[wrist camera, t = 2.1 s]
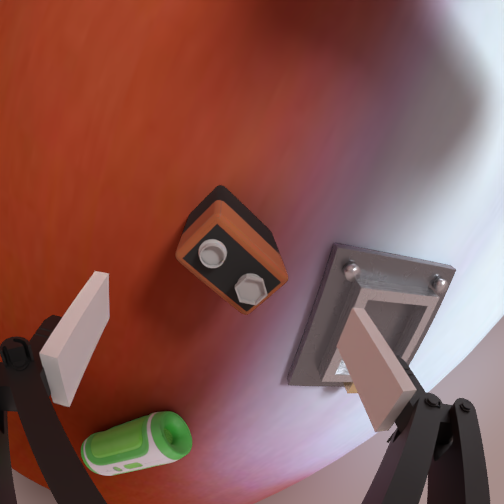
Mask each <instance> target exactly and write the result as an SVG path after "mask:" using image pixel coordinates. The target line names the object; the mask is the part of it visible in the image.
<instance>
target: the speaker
mask: <svg viewBox="0 0 504 504" xmlns="http://www.w3.org/2000/svg"><path fill="white" fill-rule="evenodd" d="M191 448H192V437H191V433H190V430H189V428H188V426H187V424H186V423H185V421H184V420H183V419H182V418H181V417H180V416H179V415H178V414H176V413H174V412H171V411H162V412H155V413H151V414H150V415H148V416H143V417H140V418H137V419H135V420H132V421H129V422H126V423H123V424H121V425H118V426H115V427H112V428H110V429H108V430H106V431H102V432H97V433H94V434H92V435H90V436H89V437H88V438H87V439H86V440H85V441H84V442H83V443H82V446H81V456H82V459H83V461H84V463H85V465H86V466H87V467H88V468H89V469H90V470H91V471H93V472H95V473H97V474H100V475H106V476H112V475H116V474H121V473H127V472H132V471H136V470H141V469H145V468H150V467H154V466H158V465H163V464H168V463H172V462H175V461H177V460H179V459H181V458H183V457H184V456H185V455H187V454H188V453H189V452H190V450H191Z"/></svg>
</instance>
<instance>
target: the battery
mask: <svg viewBox="0 0 504 504" xmlns="http://www.w3.org/2000/svg"><path fill="white" fill-rule="evenodd" d="M175 257H176V259H177V260H178V261H179V262H180V263H181V264H182V265H183V266H184V267H185V268H187V269H188V270H189V271H190V272H191V273H193V274H194V275H195V276H196V277H197V278H199V279H200V280H201V281H202V282H203V283H205V284H206V285H207V286H208V287H209V288H211V289H212V290H213V291H214V292H215V293H217V294H218V295H219V296H220V297H222V298H223V299H224V300H225V301H227V302H228V303H229V304H230V305H231V306H233V307H234V308H235V309H236V310H238V311H239V312H240V313H242V314H244V315H248V314H249V313H251V312H252V311H253V310H254V309H256V308H257V307H258V306H259V305H260V304H262V303H263V302H264V301H265V300H266V299H267V298H269V297H270V296H271V295H272V294H273V293H274V292H276V291H277V290H278V289H279V288H280V287H281V286H283V285H284V284H285V283H286V282H287V281H288V274H287V272H286V269H285V266H284V264H283V261H282V258H281V256H280V253H279V250H278V248H277V245H276V242H275V240H274V237H273V235H272V232H271V231H270V230H269V229H268V228H267V227H266V226H265V225H264V224H263V223H262V222H261V221H260V220H259V219H258V218H257V217H256V216H255V215H254V214H253V213H252V212H251V211H250V210H249V209H247V208H246V207H245V206H244V205H243V204H242V203H241V202H240V201H239V200H238V199H237V198H236V197H235V196H234V195H233V194H232V193H231V192H230V191H229V190H228V189H227V188H225V187H224V186H222V185H219V186H217V187H216V188H215V189H214V190H213V191H212V192H211V193H210V194H209V195H208V196H207V197H206V198H205V199H204V200H203V201H202V202H201V203H200V204H199V205H198V206H197V207H196V208H195V209H194V210H193V211H192V212H191V213H190V215H189V217H188V219H187V222H186V225H185V228H184V230H183V233H182V236H181V239H180V241H179V244H178V247H177V250H176V253H175Z"/></svg>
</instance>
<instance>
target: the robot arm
mask: <svg viewBox="0 0 504 504" xmlns="http://www.w3.org/2000/svg"><path fill="white" fill-rule="evenodd" d="M109 318H110V315H109V273H103V272H98V271H95V272H94V273H93V275H92V276H91V277H90V279H89V280H88V282H87V283H86V284H85V286H84V287H83V288H82V290H81V291H80V293H79V294H78V295H77V297H76V298H75V300H74V301H73V303H72V304H71V305H70V307H69V308H68V310H67V311H66V313H65V314H64V316H63V317H59V316H55V315H52V316H50V317H49V318H47V319H45V320H44V321H43V323H42V324H41V326H40V327H39V329H38V330H37V331H36V333H35V334H34V335H33V337H32V338H31V340H30V341H28V340H26V339H25V338H22V337H11V338H8V339H6V340H5V341H4V342H2V344H1V346H0V354H1V357H2V360H3V362H0V504H17V501H16V495H15V490H14V484H13V477H12V469H11V461H10V451H9V440H8V423H7V411H17V412H18V414H19V417H20V420H21V423H22V425H23V428H24V431H25V433H26V436H27V439H28V441H29V444H30V446H31V449H32V451H33V454H34V456H35V458H36V460H37V463H38V465H39V467H40V469H41V472H42V474H43V476H44V478H45V480H46V482H47V484H48V486H49V488H50V490H51V492H52V494H53V496H54V498H55V500H56V501H57V503H58V504H107V503H106V501H105V500H104V498H103V497H102V495H101V494H100V492H99V491H98V489H97V488H96V486H95V485H94V483H93V481H92V480H91V478H90V477H89V475H88V473H87V472H86V470H85V468H84V467H83V465H82V463H81V461H80V460H79V458H78V456H77V454H76V452H75V451H74V449H73V447H72V445H71V443H70V441H69V439H68V437H67V435H66V433H65V431H64V429H63V427H62V425H61V423H60V421H59V419H58V417H57V415H56V412H55V410H54V408H53V406H52V403H51V401H50V399H49V396H50V394H51V397H52V400H53V402H54V403H57V404H60V405H64V406H67V407H70V405H71V403H72V400H73V398H74V395H75V393H76V390H77V388H78V386H79V383H80V381H81V379H82V376H83V374H84V372H85V369H86V367H87V365H88V363H89V360H90V358H91V356H92V354H93V352H94V349H95V347H96V345H97V343H98V341H99V339H100V337H101V334H102V332H103V330H104V328H105V326H106V324H107V322H108V320H109ZM337 348H338V350H339V352H340V355H341V357H342V359H343V361H344V363H345V365H346V368H347V370H348V372H349V374H350V376H351V378H352V381H353V383H354V385H355V387H356V390H357V392H358V394H359V396H360V398H361V401H362V403H363V405H364V407H365V410H366V412H367V414H368V416H369V419H370V421H371V423H372V426H373V428H374V430H375V432H379V431H386V430H389V429H390V428H391V426H392V425H393V424H394V422H395V423H396V425H397V427H398V428H397V429H396V430H395V432H394V433H393V434H392V436H391V437H390V438H389V439H388V441H387V442H388V443H389V441H390V440H391V441H390V444H389V446H388V449H387V451H386V453H385V455H384V458H383V460H382V462H381V465H380V467H379V469H378V471H377V473H376V475H375V478H374V480H373V482H372V484H371V486H370V488H369V490H368V492H367V494H366V496H365V498H364V500H363V502H362V504H418V503H419V501H420V498H421V495H422V492H423V488H424V485H425V482H426V478H427V475H428V497H427V504H490V496H489V485H488V477H487V469H486V462H485V456H484V450H483V444H482V439H481V433H480V428H479V424H478V419H477V415H476V410H475V407H474V406H473V404H472V403H471V402H470V401H468V400H466V399H464V398H459V399H457V400H456V401H455V403H454V404H453V405H447V404H442V402H441V400H440V399H439V398H438V397H437V396H435V395H434V394H431V393H426V392H425V391H424V389H423V388H422V386H421V385H420V383H419V381H418V380H417V378H416V377H415V375H414V374H413V372H412V371H411V370H410V368H409V366H408V365H407V363H406V362H405V361H404V360H403V359H402V358H401V357H400V356H395V355H394V353H393V352H392V350H391V348H390V347H389V345H388V344H387V342H386V341H385V339H384V338H383V336H382V335H381V333H380V332H379V330H378V329H377V327H376V326H375V324H374V323H373V321H372V320H371V318H370V317H369V315H368V314H367V312H366V311H365V309H363V308H353V307H352V309H351V312H350V315H349V317H348V320H347V322H346V324H345V327H344V329H343V332H342V334H341V337H340V339H339V341H338V344H337Z"/></svg>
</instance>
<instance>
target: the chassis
mask: <svg viewBox="0 0 504 504" xmlns="http://www.w3.org/2000/svg"><path fill="white" fill-rule="evenodd" d="M455 271H456V269H454V268H453V267H452V266H451V265H446V264H441V263H437V262H432V261H427V260H422V259H417V258H412V257H407V256H401V255H396V254H391V253H386V252H381V251H376V250H370V249H365V248H360V247H354V246H349V245H344V244H338V243H334V244H333V247H332V250H331V254H330V257H329V260H328V263H327V266H326V270H325V273H324V276H323V279H322V282H321V285H320V288H319V291H318V294H317V297H316V300H315V303H314V306H313V309H312V312H311V314H310V317H309V320H308V323H307V326H306V329H305V331H304V334H303V337H302V340H301V342H300V345H299V348H298V351H297V353H296V356H295V359H294V361H293V364H292V367H291V369H290V372H289V374H288V377H287V380H288V385H300V386H345V388H346V391H347V393H358V392H357V390H356V387H355V385H354V383H353V381H352V378H351V376H350V374H349V372H348V370H347V368H346V365H345V363H344V361H343V359H342V357H341V355H340V352H339V350H338V348H337V344H338V341H339V339H340V337H341V334H342V332H343V329H344V327H345V324H346V322H347V320H348V317H349V315H350V312H351V309H352V307H353V308H363V309H365V311H366V312H367V314H368V315H369V317H370V318H371V320H372V321H373V323H374V324H375V326H376V327H377V329H378V330H379V332H380V333H381V335H382V336H383V338H384V339H385V341H386V342H387V344H388V345H389V347H390V348H391V350H392V352H393V353H394V355H395V356H400V357H401V358H402V359H403V360H404V361H405V362H406V363H407V365H408V366H409V364H410V362H411V361H412V359H413V357H414V355H415V353H416V352H417V350H418V348H419V346H420V344H421V343H422V341H423V339H424V337H425V335H426V333H427V331H428V329H429V327H430V325H431V323H432V321H433V319H434V317H435V315H436V313H437V311H438V309H439V307H440V305H441V303H442V301H443V299H444V296H445V294H446V292H447V290H448V288H449V285H450V283H451V281H452V278H453V276H454V274H455Z"/></svg>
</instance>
